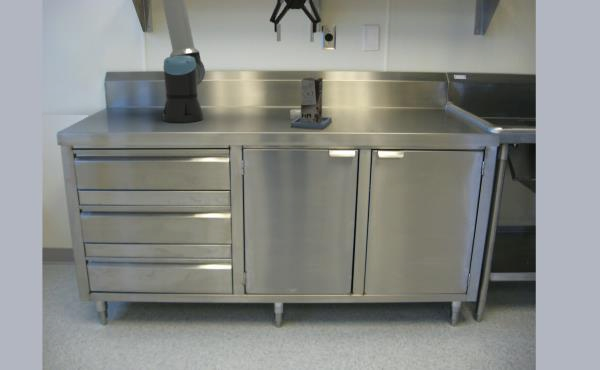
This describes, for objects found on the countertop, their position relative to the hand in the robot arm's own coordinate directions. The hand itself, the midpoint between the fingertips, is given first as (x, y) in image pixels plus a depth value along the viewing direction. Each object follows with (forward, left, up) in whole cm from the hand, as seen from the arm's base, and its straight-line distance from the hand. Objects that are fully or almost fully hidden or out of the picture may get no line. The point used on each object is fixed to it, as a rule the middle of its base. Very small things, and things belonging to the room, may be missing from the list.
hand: (295, 41), depth 196 cm
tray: (+12, -20, -29) cm, 37 cm away
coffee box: (+12, -20, -28) cm, 37 cm away
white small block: (+4, -10, -29) cm, 31 cm away
